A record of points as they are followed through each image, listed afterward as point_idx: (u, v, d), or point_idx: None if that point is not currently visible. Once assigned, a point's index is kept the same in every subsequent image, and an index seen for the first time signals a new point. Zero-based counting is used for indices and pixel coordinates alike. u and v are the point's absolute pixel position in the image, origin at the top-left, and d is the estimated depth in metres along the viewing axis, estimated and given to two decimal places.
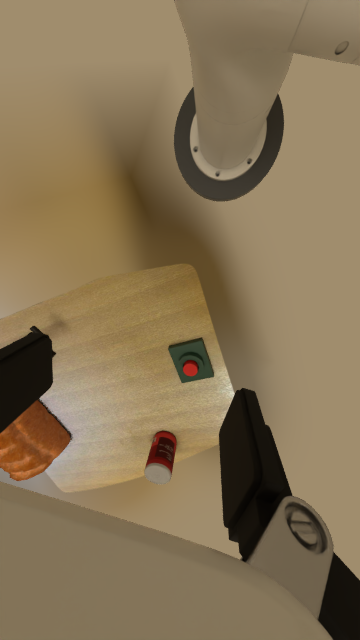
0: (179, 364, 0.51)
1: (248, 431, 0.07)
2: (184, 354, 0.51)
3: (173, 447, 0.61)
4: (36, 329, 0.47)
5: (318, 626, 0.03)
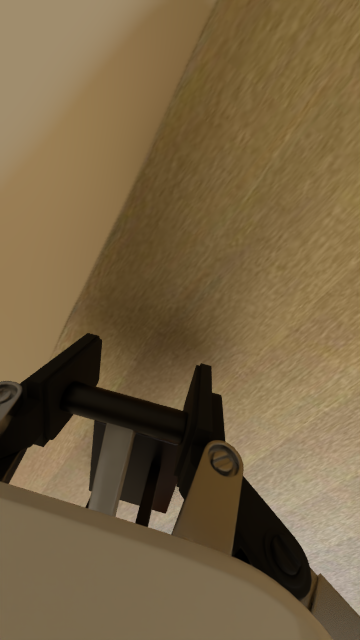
0: None
1: (195, 394, 0.08)
2: None
3: None
4: (92, 394, 0.08)
5: (318, 626, 0.03)
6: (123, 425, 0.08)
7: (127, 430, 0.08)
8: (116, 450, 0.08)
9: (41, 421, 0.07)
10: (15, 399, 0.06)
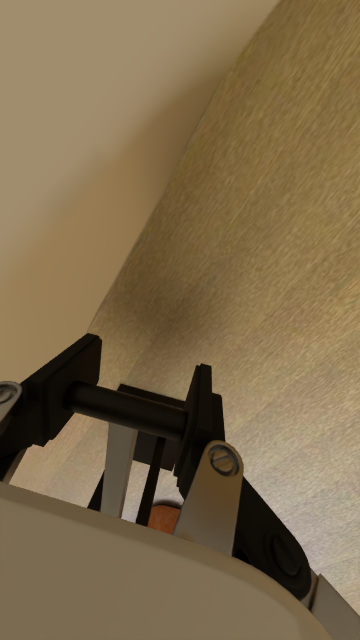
0: None
1: (195, 394, 0.08)
2: None
3: None
4: (92, 397, 0.08)
5: (318, 626, 0.03)
6: (124, 425, 0.08)
7: (129, 429, 0.08)
8: (121, 442, 0.09)
9: (41, 421, 0.07)
10: (15, 399, 0.06)
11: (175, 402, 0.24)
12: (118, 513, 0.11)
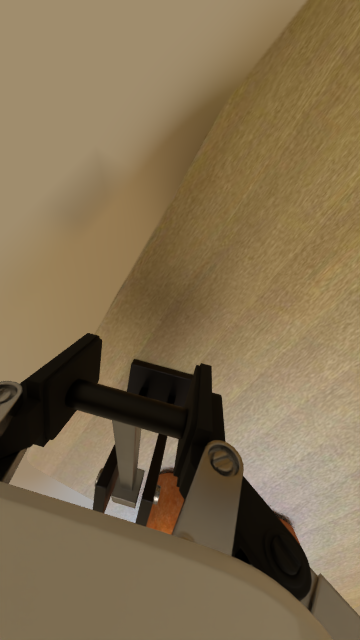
0: None
1: (195, 394, 0.08)
2: None
3: None
4: (92, 399, 0.08)
5: (318, 626, 0.03)
6: (126, 423, 0.08)
7: (131, 425, 0.08)
8: (125, 432, 0.09)
9: (41, 421, 0.07)
10: (15, 399, 0.06)
11: (181, 374, 0.28)
12: (132, 469, 0.13)
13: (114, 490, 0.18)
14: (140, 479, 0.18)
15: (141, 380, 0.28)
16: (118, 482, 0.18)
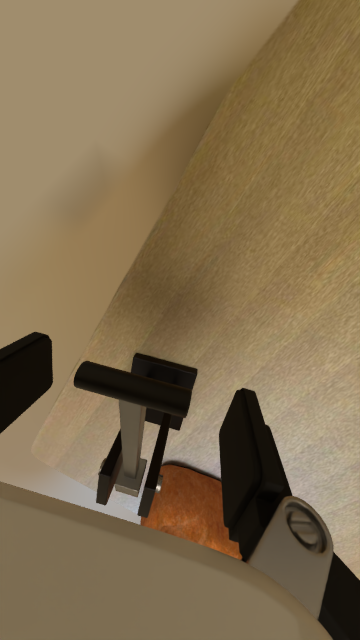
0: None
1: (248, 431, 0.07)
2: None
3: None
4: (100, 379, 0.09)
5: (318, 626, 0.03)
6: (132, 403, 0.09)
7: (137, 405, 0.09)
8: (131, 413, 0.09)
9: None
10: None
11: (183, 367, 0.28)
12: (136, 454, 0.13)
13: (117, 478, 0.18)
14: (143, 468, 0.19)
15: (143, 373, 0.28)
16: (121, 471, 0.18)
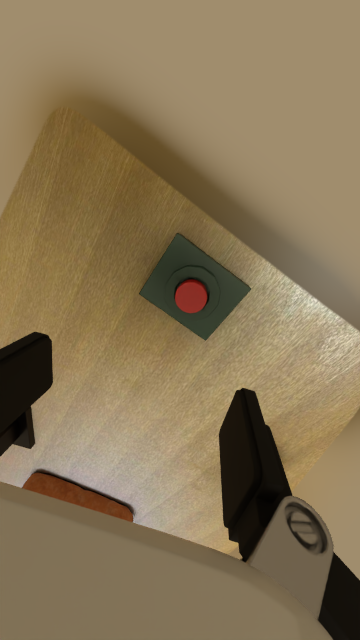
0: (170, 304, 0.25)
1: (248, 431, 0.07)
2: None
3: None
4: None
5: (318, 626, 0.03)
6: None
7: None
8: None
9: None
10: None
11: None
12: None
13: None
14: None
15: None
16: None
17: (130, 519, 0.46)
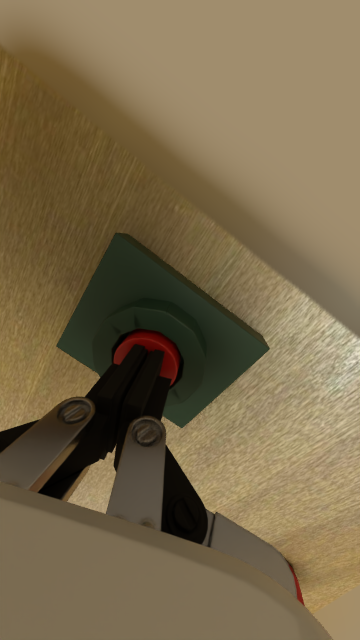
0: None
1: (138, 376, 0.08)
2: None
3: None
4: None
5: (318, 626, 0.03)
6: None
7: None
8: None
9: (106, 435, 0.07)
10: (92, 416, 0.06)
11: None
12: None
13: None
14: None
15: None
16: None
17: None
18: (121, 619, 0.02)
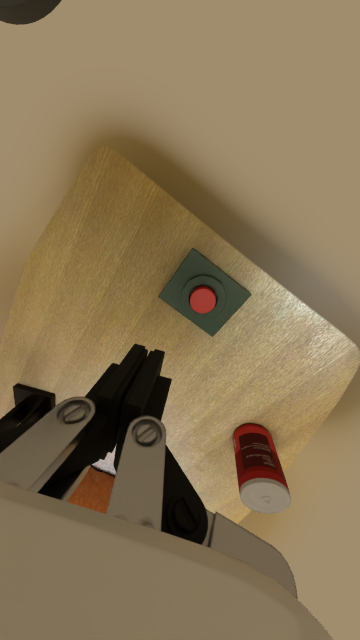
0: (185, 306, 0.30)
1: (138, 376, 0.08)
2: (183, 287, 0.30)
3: (267, 442, 0.37)
4: None
5: (318, 626, 0.03)
6: None
7: None
8: None
9: (106, 435, 0.07)
10: (92, 416, 0.06)
11: (44, 393, 0.45)
12: None
13: None
14: None
15: (21, 396, 0.45)
16: None
17: None
18: (121, 619, 0.02)
